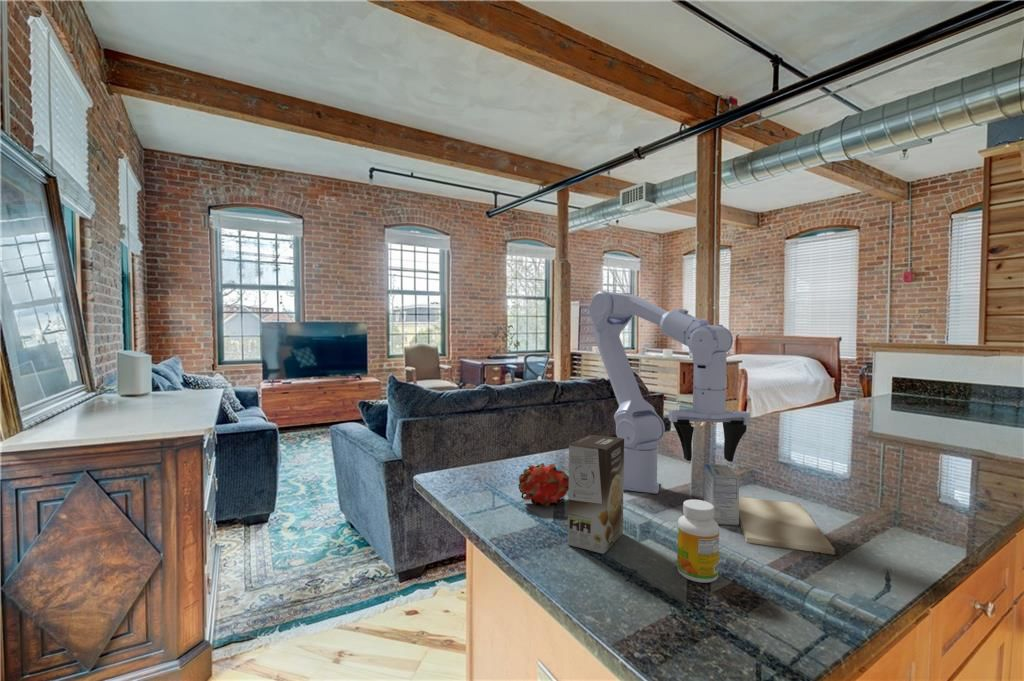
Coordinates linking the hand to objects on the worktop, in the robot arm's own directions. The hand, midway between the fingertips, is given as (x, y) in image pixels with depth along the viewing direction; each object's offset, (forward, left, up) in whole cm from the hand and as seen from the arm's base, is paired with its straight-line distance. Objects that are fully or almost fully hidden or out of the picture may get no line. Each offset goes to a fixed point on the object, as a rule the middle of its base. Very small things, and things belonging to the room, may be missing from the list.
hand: (708, 459), depth 88 cm
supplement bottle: (-3, -26, -10) cm, 28 cm away
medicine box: (+2, -3, -10) cm, 10 cm away
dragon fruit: (-30, -7, -10) cm, 32 cm away
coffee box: (-18, -20, -10) cm, 29 cm away
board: (+11, -3, -10) cm, 15 cm away
